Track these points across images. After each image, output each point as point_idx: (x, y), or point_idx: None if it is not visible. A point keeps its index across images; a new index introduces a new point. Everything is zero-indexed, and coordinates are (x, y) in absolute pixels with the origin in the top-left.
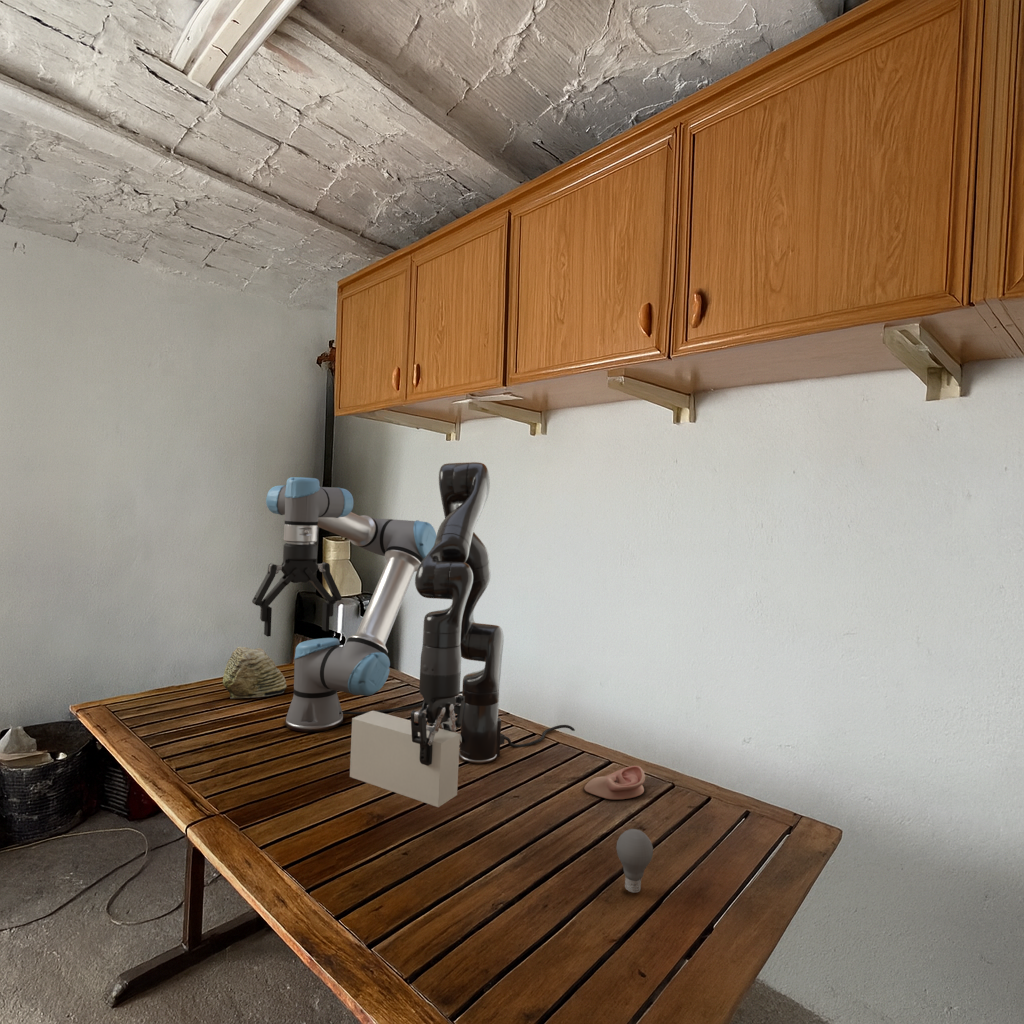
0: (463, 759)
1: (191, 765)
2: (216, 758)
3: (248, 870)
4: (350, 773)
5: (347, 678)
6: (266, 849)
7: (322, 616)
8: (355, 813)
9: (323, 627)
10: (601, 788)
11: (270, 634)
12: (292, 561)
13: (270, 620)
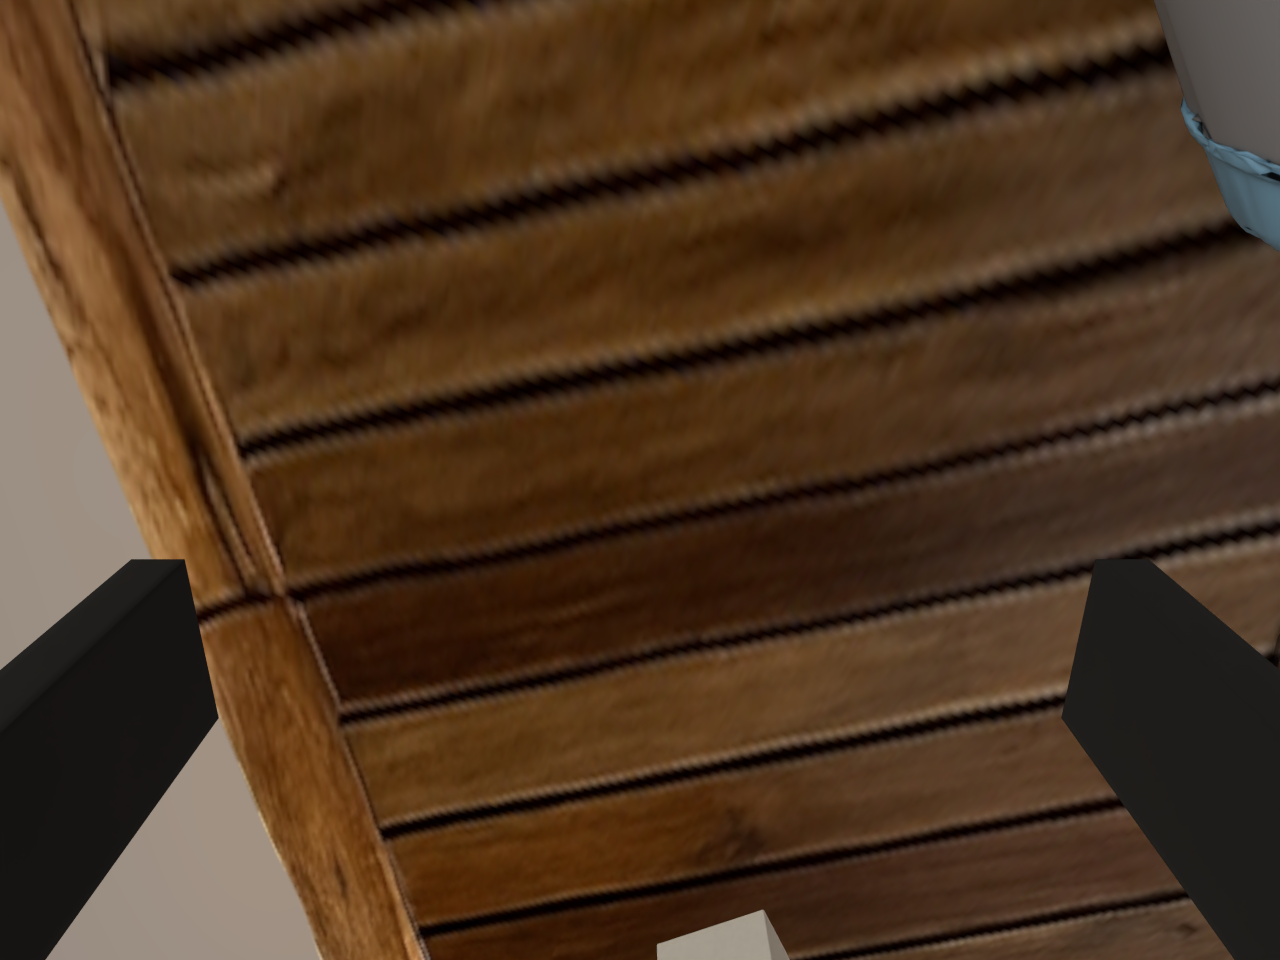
0: (1277, 652)
1: (179, 56)
2: (304, 23)
3: (337, 905)
4: (658, 958)
5: (1216, 129)
6: (395, 846)
7: (1231, 698)
8: (694, 795)
9: (1102, 645)
10: None
11: (201, 735)
12: None
13: (61, 913)
